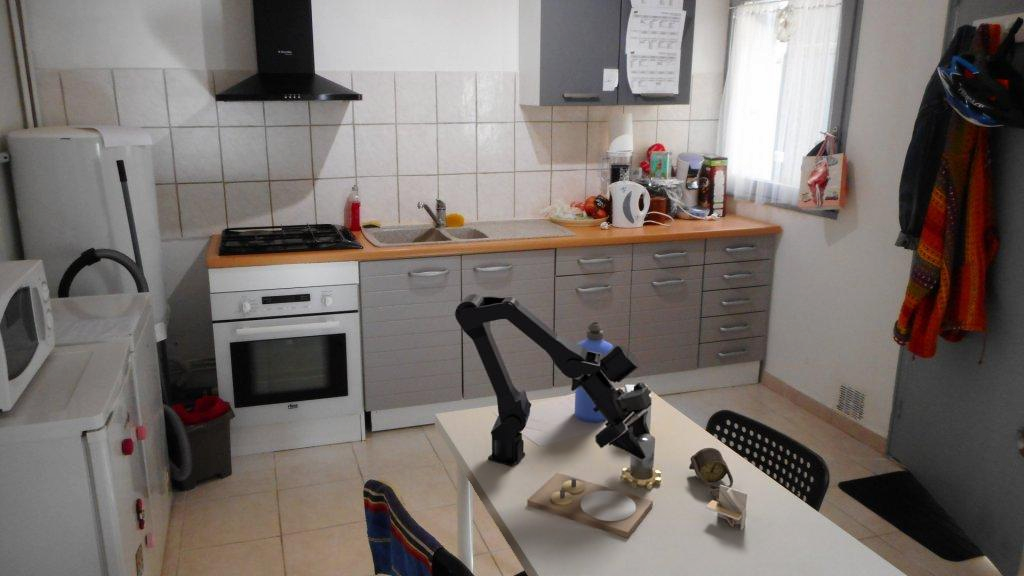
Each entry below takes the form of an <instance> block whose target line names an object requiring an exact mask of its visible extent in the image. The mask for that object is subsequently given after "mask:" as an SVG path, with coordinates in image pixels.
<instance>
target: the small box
mask: <svg viewBox="0 0 1024 576" xmlns="http://www.w3.org/2000/svg"><path fill="white" fill-rule="evenodd" d="M635 385H636V384H625V385H624V392H625V393H628V392H630V391H631V390H633V391H634V386H635ZM645 385H646V386H647V387H648V385H647V384H645ZM649 396H650V399H651V401H653V400H652V399H653V397H652V395H651V393H650V394H649ZM646 411H648V414H647V418H646V423H647V427H648V430H649V432H650V433H651V419H652V404H651V405H650V406H649V407H648V408H647V409H644V410H643V411H642V413H645V412H646ZM627 425H628V424H626V426H627Z"/></svg>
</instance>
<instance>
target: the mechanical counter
mask: <svg viewBox="0 0 1024 576" xmlns="http://www.w3.org/2000/svg"><path fill="white" fill-rule="evenodd" d="M688 469H689V470H694V472H695V475H696V477H697V478H698V480H699V481H700V482H701V483H702V484H704V485H705V486H706V487H708V489H711V490H710V491H709V494H710V496H711V497H712V498H713V499H715V500H717V499H718V500H719V489H720V485H719V486H718V485H715V484H714V483H718V482H719V481H722V480H723V478H725V477H726V475H727V477H728V480H729V485H727V486H726V487H729V488H732V487H733V485H734V479H733V475H732V473H731V471H730V469H729V467H728V464H727V463H726V461H725V459H724V457H723V455H722V453H721V451H720V450H718V449H717V448H715V447H706V448H705V447H704V448H702V449H699V450H698V451H697V452H696V453H695V454H693V455H692V456H691V457H690V464H689V467H688Z"/></svg>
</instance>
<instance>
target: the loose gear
mask: <svg viewBox="0 0 1024 576" xmlns="http://www.w3.org/2000/svg"><path fill="white" fill-rule="evenodd" d="M633 437H634V438H635V440H636V441H637V443H638V444H639V446H640V447H641V449H642V450H643V452H644V454H645V456H646V457H645V458H644V459H640V458H638V457H636V456H634V455H632V454H630V458H629V459H630V460H629V463H630V464H629V467H627V468H626V467H623V468H622V469H621V481H622V482H623V483H627V484H629V485H631V486H630V487H631V488H634V489H638V488H642V489H643V488H645V489H646V490H651V489H653V488H652V487H654V486H656V485H657V486H660V485H661V484H662V477H661V474H662V473H661V471H660V470H655V469H654V464H655V448H656V447H655V446H656V437H655V436H653V434H651V433H650V434H646V433H637V434H634V435H633Z"/></svg>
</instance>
